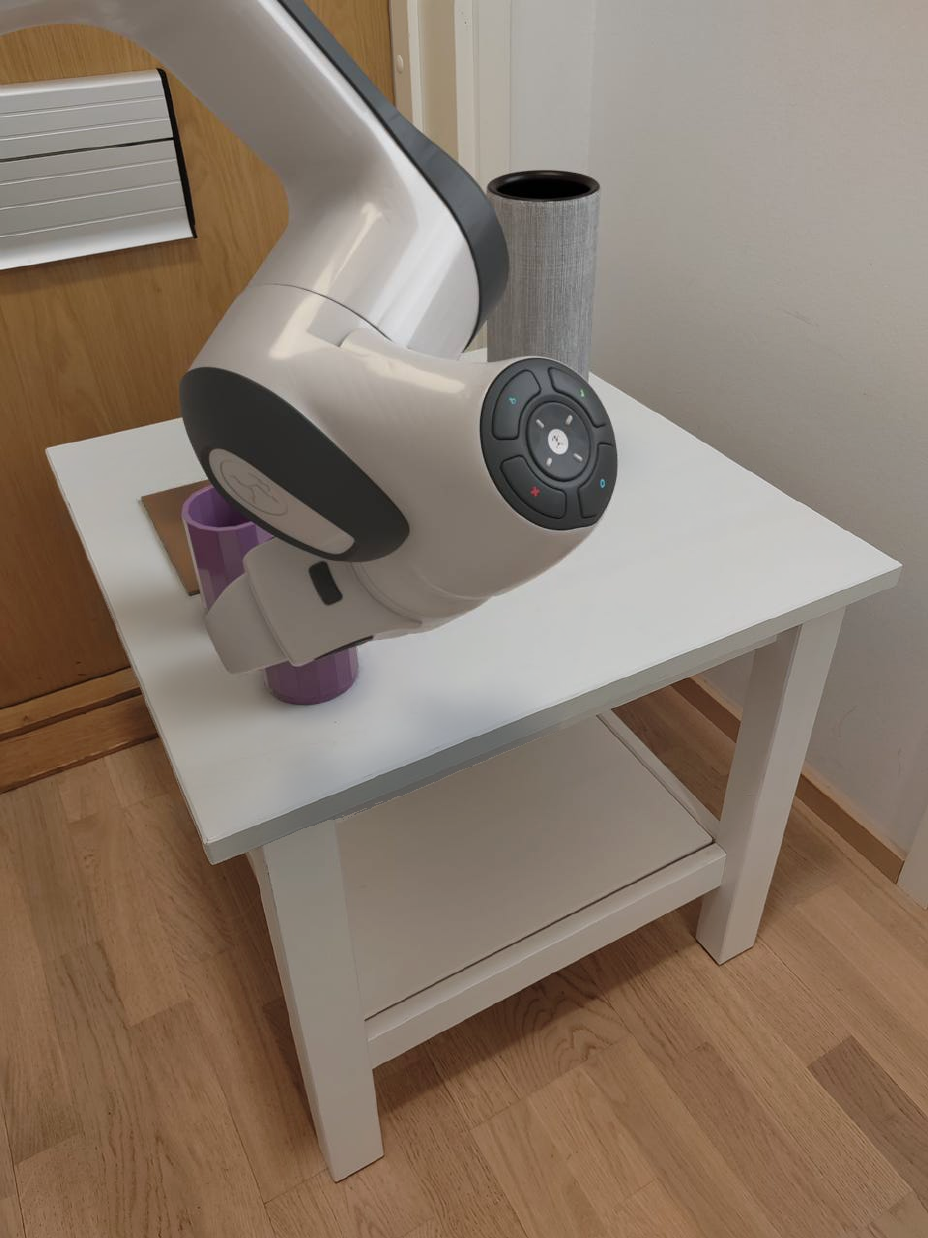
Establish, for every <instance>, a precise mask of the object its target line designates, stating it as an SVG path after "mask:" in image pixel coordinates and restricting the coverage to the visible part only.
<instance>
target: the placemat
mask: <svg viewBox="0 0 928 1238" xmlns="http://www.w3.org/2000/svg"><path fill="white" fill-rule="evenodd" d="M210 485H212V484H211V482H210V481H209V479H208V478H207V479H204V480H203V479H202V480H199V481H196V482H192V483H188V484H185V485H180V486H177V487H172V488H168V489H165V490H162V491H157V492H153V493H150V494H146V495H142V496H140V499H141V501H142V504H143V505H144V507H145V510H146V511H147V514H148V516H149V518H150V520H151V522H152V523H153V526H154V528H155V530H156V532H157V534H158V535H159V538H160V540H161V542H162V544H163V546H164V548H165V550H166V552H167V555H169V559H170V560H171V563H172V564H173V566H174V569H175V570H176V572H177V574H178V576H179V579H180V580H181V583H182V584H183V586H184V589H185V590H186V593H187V595H188V596H193V595H196V594H199V593H200V589H199V585H198V580H197V576H196V572H195V568H194V564H193V560H192V556H191V552H190V548H189V543H188V539H187V535H186V531H185V527H184V523H183V519H182V515H181V513H182V507H183V504H184V502H185V501H186V500H187V499H188V498H189V497H190V496H191V495H192V494H193V493H195V492H197V491H199V490H201V489H203V488H204V487H207V486H210Z"/></svg>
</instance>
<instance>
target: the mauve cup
mask: <svg viewBox="0 0 928 1238" xmlns="http://www.w3.org/2000/svg"><path fill="white" fill-rule="evenodd" d="M181 515H182V519H183V523H184V527H185V531H186V535H187V539H188V543H189V548H190V552H191V556H192V560H193V564H194V568H195V572H196V576H197V580H198V585H199V589H200V592H199V593H200V597H201V600H202V605H203V608H204V610H205V614H206V615H207V614H208V612H209V610H210V609H211V607H212V606H213V604H214V603H215V601H216V600H217V599H218V597H219V596H220V595H221V593H222V592H223V591H224V590H225V589H226V588H227V587H228V586H229V585H230V584H231V583H232V582H233V581H234V580H236V579H237V578H238V577H240V576H241V575H243V568H244V565H243V562H242V560H243V558H244V556H245V555H246V554H247V553H248V552H249V551H250V550H251V549H253V548H254V547H256V546H258V545H260V544H263V543H264V542H266V541H267V540H269V539H270V538H272V537H274V536H273V535H272V534H270V533H268V532H267V531H265V530H263V529H262V528H260V527H259V526H257V525H256V524H254V523H253V522H252V521H250V520H249V519H247V518H246V517H245V516H243V515H242V514H241V513H239V512H238V511H237V510H235V509H234V508H233V507H232V506H231V505H230V504H228V503H227V502H226V501H225V500H224V499H223V498H222V497H221V495H220V494H219V493H218V492H217V491H216V489H215V488H214V487H213V485H210V486H207V487H204V488H203V489H201V490H199V491H197V492H195V493H193V494H192V495H191V496H190V497H189V498H188V499H187V500H186V501H185V502H184V504H183V507H182V513H181Z"/></svg>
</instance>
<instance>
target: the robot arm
mask: <svg viewBox="0 0 928 1238" xmlns="http://www.w3.org/2000/svg"><path fill="white" fill-rule="evenodd" d="M61 24H63V25H65V24H73V25H74V24H75V25H85V26H90V27H96V28H99V29H103V30H106V31H108V32H112V33H115V34H117V35H119V36H121V37H123V38H125V39H127V40H129V41H131V42H133V43H134V44H135V45H137V46H139V47H140V48H141V49H143V50H145V51H146V52H148V53H149V54H150V55H151V56H152V57H154V58H155V59H156V60H157V61H158V62H159V63H161V65H163V66H164V67H165V68H166V70H167V71H169V72H170V73H171V74H172V75H173V76H174V77H175V78H176V79H177V80H178V81H179V82H180V83H181V84H182V85H183V86H184V87H185V88H186V89H187V90H188V91H189V92H190V93H191V94H192V95H194V96H195V98H196V99H198V101H200V103H202V105H204V106H205V107H206V108H207V109H208V110H209V112H211V113H212V114H213V115H214V116H215V117H216V118H217V119H218V120H219V121H220V122H221V123H222V124H223V125H224V126H225V127H226V128H227V129H228V130H229V131H230V132H231V133H232V134H233V135H234V136H235V137H236V138H238V139H239V141H241V142H242V144H243V145H245V146H246V147H247V149H249V150H250V151H251V152H252V153H253V154H254V155H255V156H256V157H257V158H258V159H259V160H260V161H261V162H262V163H263V164H264V165H265V166H266V167H267V168H268V169H269V170H270V171H271V172H272V173H274V175H275V176H276V177H277V179H278V180H279V181H280V183H281V185H282V187H283V189H284V193H285V194H286V198H287V203H288V218H287V219H288V221H287V227H286V228H285V229H284V231H283V233H282V234H281V236H280V237H279V239H278V240H277V242H276V243H275V244H274V246H273V247H272V249H270V252H269V253H268V255H267V256H266V258H265V259H264V260H263V262H262V263H261V265H260V266H259V268H258V269H257V271H256V272H255V274H254V275H253V277H252V278H251V280H250V281H249V282H248V284H247V285H246V287H245V289H243V291H241V293H240V294H238V295H237V297H236V298H235V299H234V301H232V303H231V305H230V306H229V307H228V309H227V311H226V312H225V314H224V315H223V316H222V318H221V320H220V321H219V322H218V324H217V325H216V326H215V328H214V330H213V331H212V332H211V334H210V335H209V337H208V338H207V340H206V342H205V343H204V345H203V347H202V348H201V349H200V351H199V353H198V354H197V355H196V357H195V359H194V360H193V362H192V364H191V365H190V366H189V368H188V370H187V372H186V373H184V374H183V376H182V377H181V378H180V381H179V385H178V401H179V407H180V408H179V409H180V414H181V418H182V423H183V425H184V429H185V432H186V435H187V438H188V440H189V443H190V445H191V447H192V449H193V452H194V454H195V457H196V458H197V460H198V462H199V464H200V466H201V468H202V470H203V472H204V474H205V476H206V478H207V479H209V481H210V482H211V484H212V485H213V487H214V488H215V489H216V491H217V492H218V493H219V494H220V495H221V497H222V498H223V499H224V500H225V501H226V502H227V503H228V504H230V505H231V506H232V507H233V508H234V509H235V510H237V511H238V512H239V513H241V514H242V515H243V516H245V517H246V518H247V519H249V520H250V521H252V522H253V523H254V524H256V525H257V526H259V527H260V528H262V529H263V530H265V531H267V532H268V533H270V534H272V535H273V536H274V537H272V538H270V539H269V540H267V541H266V542H264V543H263V544H260V545H258V546H256V547H254V548H253V549H251V550H250V551H249V552H248V553H247V554H246V555H245V556H244V558H243V560H242V562H243V565H244V569H245V572H246V573H244V574H243V575H241V576H240V577H238V578H237V579H236V580H234V581H233V582H232V583H231V584H230V585H229V586H228V587H227V588H226V589H225V590H224V591H223V592H222V593H221V595H220V596H219V597H218V599H217V600H216V601H215V603H214V604H213V606H212V607H211V609H210V610H209V612H208V614H206V616H205V621H204V625H205V628H206V631H207V635H208V637H209V639H210V641H211V644H212V646H213V648H214V650H215V652H216V655H217V656H218V658H219V660H220V662H221V664H222V665H223V667H224V669H225V670H226V671H227V673H228V674H229V675H232V676H242V675H245V674H249V673H253V672H255V671H259V670H260V671H261V669H263V668H266V667H269V666H272V665H276V664H279V663H282V662H285V661H288V660H289V662H290V663H291V664H292V665H293V666H302V665H305V664H307V663H309V662H311V661H314V660H315V661H318V660H320V659H323V658H325V657H328V656H330V655H333V654H335V653H338V652H341V651H343V650H346V649H349V648H353V647H356V646H357V647H359V646H362V645H365V644H366V643H369V642H374V641H375V642H376V641H382V640H390V639H397V638H401V637H405V636H408V635H416V634H424V633H426V632H431V631H433V630H436V629H439V628H441V627H442V626H444V625H446V624H448V623H450V622H452V621H454V620H456V619H458V618H460V617H462V616H464V615H466V614H468V613H470V612H472V611H475V610H476V609H478V608H479V607H481V606H482V605H484V604H485V603H487V602H488V601H489V600H491V599H492V598H494V597H498V596H503V595H504V594H507V593H510V592H511V591H513V590H516V589H518V588H520V587H521V586H524V585H525V584H527V583H529V582H531V581H533V580H535V579H536V578H539V577H540V576H541V575H543V574H545V573H546V572H548V571H549V570H551V569H553V568H554V567H555V566H557V565H558V564H560V562H562V561H563V560H564V559H566V558H567V557H568V556H569V555H570V554H572V553H573V552H574V551H575V550H577V549H578V548H579V547H580V546H581V545H582V544H583V543H584V542H585V541H587V539H588V538H589V537H590V536H591V535H592V534H593V532H594V531H596V529H597V528H598V526H599V525H600V524H601V522H602V521H603V519H604V516H605V515H606V513H607V511H608V510H609V507H610V504H611V501H612V498H613V495H614V491H615V486H616V482H617V479H618V478H617V477H618V466H619V465H618V460H619V459H618V449H617V441H616V435H615V430H614V428H613V427H614V426H613V425H612V424H613V423H612V421H611V419H610V416H609V413H608V412H607V409H606V407H605V405H604V403H603V401H602V400H601V398H600V396H599V395H598V393H597V392H596V390H595V389H594V388H593V387H592V385H591V384H590V383H589V381H588V382H587V381H586V380H585V379H584V378H583V377H582V376H581V375H580V374H578V373H577V372H576V371H575V370H573V369H572V368H570V367H569V366H567V365H565V364H563V363H561V362H559V361H556V360H554V359H551V358H547V357H541V356H523V357H517V358H512V359H507V360H502V361H497V362H487V361H486V362H476V361H464V360H459V359H460V357H461V356H462V354H463V353H464V352H465V351H466V350H467V349H468V347H469V346H470V345H471V344H472V342H473V341H474V339H475V338H476V336H477V335H478V334H479V332H480V331H481V329H482V328H483V326H484V325H485V323H487V319H488V317H489V316H490V315H491V313H492V312H493V310H494V309H495V307H496V306H497V305H498V303H499V302H500V300H501V298H502V297H503V295H504V292H505V289H506V286H507V282H508V277H509V255H508V249H507V244H506V240H505V237H504V234H503V231H502V228H501V225H500V222H499V220H498V217H497V215H496V213H495V211H494V209H493V206H492V204H491V203H490V201H489V199H488V198H487V196H486V192H485V191H484V190H483V188H482V186H481V185H480V184H479V183H478V182H477V180H476V179H475V178H474V176H472V174H471V173H469V171H467V169H466V168H464V167H463V166H462V164H460V163H459V162H458V161H457V160H456V159H455V158H453V157H452V156H451V155H450V154H449V153H447V152H446V151H445V150H444V149H443V148H441V147H440V146H439V144H436V143H435V142H434V141H433V140H432V139H431V138H429V137H428V136H427V135H426V134H424V133H423V132H422V131H421V130H420V129H418V128H417V127H416V126H415V125H414V124H413V123H412V122H410V121H409V120H408V119H407V117H405V115H403V113H401V111H399V110H398V109H397V107H395V105H393V103H392V102H391V101H390V100H389V99H388V98H387V97H386V96H385V94H383V92H382V90H380V89H379V88H378V86H377V85H376V84H375V83H374V82H373V81H372V79H371V78H370V77H369V76H368V75H367V73H365V71H364V70H363V69H362V68H361V67H360V66H359V64H358V63H357V62H356V60H355V59H354V58H353V57H352V56H351V55H350V54H349V53H348V51H347V50H346V48H344V47H343V45H342V44H341V43H340V42H339V41H338V40H337V38H336V36H334V34H332V32H331V31H330V30H329V29H328V28H327V27H326V26H325V24H324V23H323V22H322V21H321V20H320V19H319V17H318V15H316V14H315V12H314V11H313V10H312V9H311V8H310V7H309V5H308V4H307V3H306V2H305V1H304V0H0V36H3V35H7V34H10V33H13V32H17V31H20V30H21V31H22V30H25V29H29V28H34V27H35V28H36V27H39V26H40V27H41V26H48V25H61Z"/></svg>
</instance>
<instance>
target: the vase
mask: <svg viewBox="0 0 928 1238" xmlns="http://www.w3.org/2000/svg"><path fill="white" fill-rule="evenodd" d="M485 190H486V191H485V194H486V196H487V198H488V199H489V201H490V203H491V204H492V206H493V209H494V211H495V213H496V215H497V217H498V220H499V222H500V225H501V228H502V231H503V234H504V237H505V240H506V244H507V249H508V255H509V277H508V282H507V286H506V289H505V292H504V295H503V297H502V298H501V300H500V302H499V303H498V305H497V306H496V307H495V309H494V310H493V312H492V313H491V315H490V316H489V317H488V319H487V320H486V363H487V362H497V361H502V360H507V359H512V358H517V357H523V356H541V357H547V358H551V359H554V360H556V361H559V362H561V363H563V364H565V365H567V366H569V367H570V368H572V369H573V370H575V371H576V372H577V373H578V374H580V375H581V376H582V377H583V378H584V379H585V380H586V381H587V382H588V383H589V378H590V376H589V375H590V361H591V345H592V333H593V332H592V330H593V317H594V316H593V315H594V301H595V284H596V269H597V254H598V241H599V240H598V239H599V225H600V223H599V222H600V210H601V209H600V207H601V191H602V188H601V184H600V182H599V181H597V180H596V179H595V178H593V177H591V176H589V175H586V174H584V173H583V174H582V173H579V172H575V171H567V170H557V169H556V170H555V169H534V170H533V169H532V170H522V171H515V172H510V173H509V172H508V173H505V174H502V175H499V176H497V177H495V178H493V179H492V180H491V181H489V182H488V184H487V185H486V188H485Z"/></svg>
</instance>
